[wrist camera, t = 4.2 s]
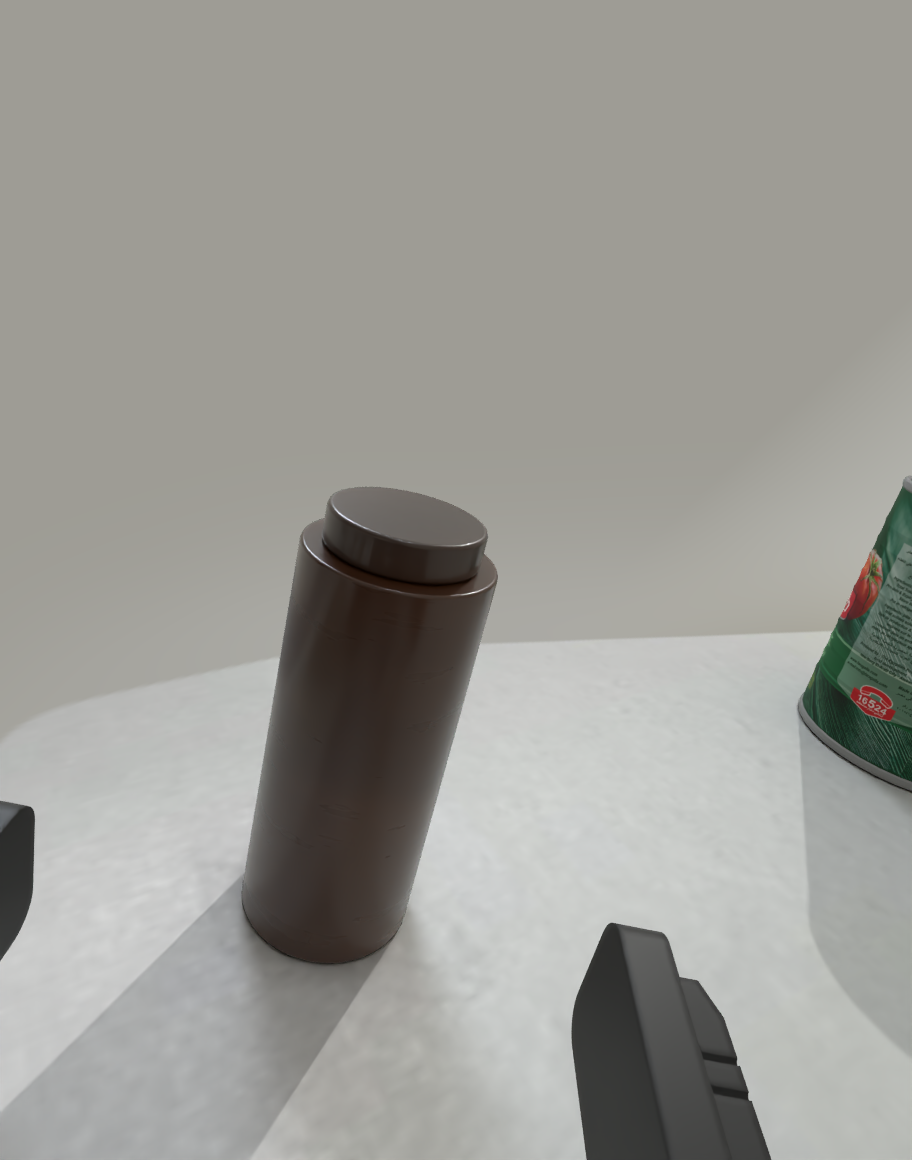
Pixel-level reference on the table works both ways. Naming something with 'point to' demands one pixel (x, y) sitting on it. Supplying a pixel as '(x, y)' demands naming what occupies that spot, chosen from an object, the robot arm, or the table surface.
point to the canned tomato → (871, 661)
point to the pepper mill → (363, 717)
